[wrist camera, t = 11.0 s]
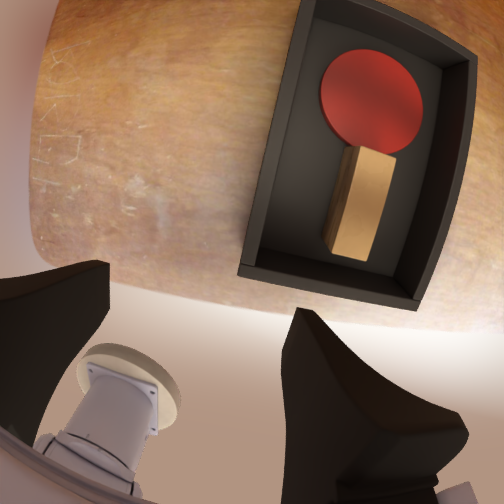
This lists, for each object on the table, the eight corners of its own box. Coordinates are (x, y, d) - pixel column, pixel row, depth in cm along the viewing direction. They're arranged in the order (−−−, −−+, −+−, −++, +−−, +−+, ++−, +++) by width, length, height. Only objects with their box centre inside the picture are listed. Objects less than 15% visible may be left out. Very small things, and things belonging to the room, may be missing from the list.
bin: (394, 285, 20) (416, 312, 16) (242, 252, 19) (236, 276, 16) (447, 67, 14) (478, 56, 10) (299, 7, 14) (306, -22, 10)
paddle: (382, 252, 18) (400, 270, 15) (284, 228, 18) (288, 243, 15) (423, 76, 14) (447, 67, 11) (328, 38, 14) (340, 19, 11)
